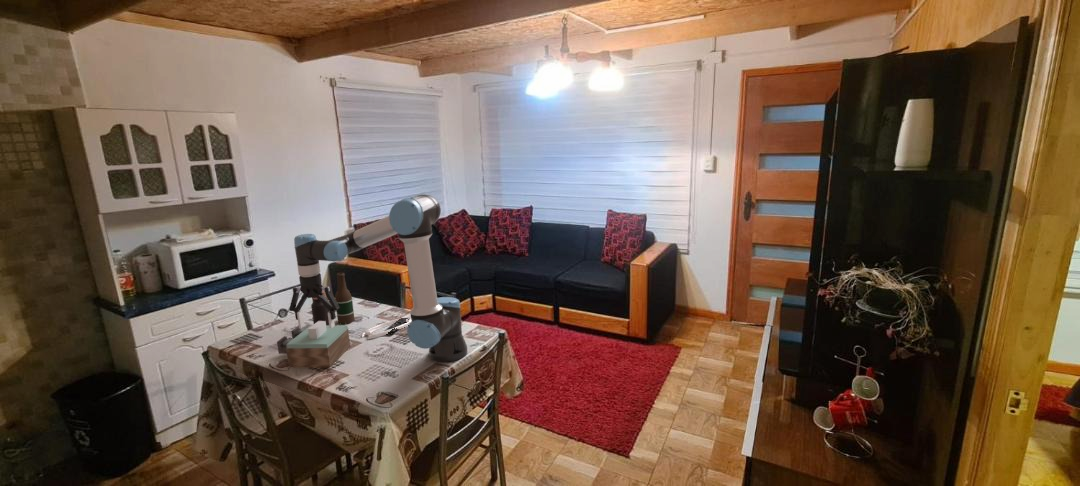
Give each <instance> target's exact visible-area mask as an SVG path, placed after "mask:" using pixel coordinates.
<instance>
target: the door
mask: <svg viewBox="0 0 1080 486" xmlns="http://www.w3.org/2000/svg"><path fill="white" fill-rule="evenodd" d="M347 329H348V330H349V328H348V324H339V325H338V324H337V325H335V326H334V327H333V328H330V327H329V325H326V321H318V322H316V323H315V324H314V323H313V325H309V326H308V327H307V328H306V327H305V326H304V327H302V328H301V329H300V330H299V331H297V335H298V336H296V337H295V338H294V339H292V336H291V337H287V340H285V341H284V342H283V345H284V346H287V348H328V347H329V346H330V345H331V344H332V343H333V342H334V341H335V340H337V339H338V338H339V337H340V336H341V335H342V334H343V333H344V332H345V331H346V330H347Z"/></svg>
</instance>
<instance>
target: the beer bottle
mask: <svg viewBox="0 0 1080 486" xmlns="http://www.w3.org/2000/svg"><path fill="white" fill-rule="evenodd" d="M345 275H346V274H345V272H338V273H336V278H337V280H336V281H337V290H336V292H335V296H334V297H335V299H336V301H337V303H338V305H339V307H340V308H339V309H338V310H336V311H335V312H336V319H337V323H338V324H339V325H349V324H351V323H353V322H355V313H354V312H355V311H354V304H353V297H352V294H351V292H350V290H349V289H348V287H347V282H346V278H345Z"/></svg>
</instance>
